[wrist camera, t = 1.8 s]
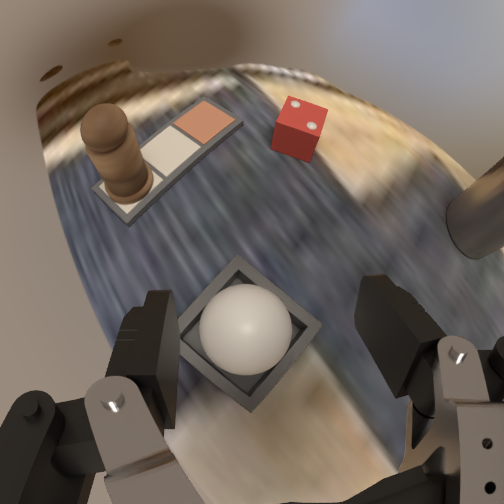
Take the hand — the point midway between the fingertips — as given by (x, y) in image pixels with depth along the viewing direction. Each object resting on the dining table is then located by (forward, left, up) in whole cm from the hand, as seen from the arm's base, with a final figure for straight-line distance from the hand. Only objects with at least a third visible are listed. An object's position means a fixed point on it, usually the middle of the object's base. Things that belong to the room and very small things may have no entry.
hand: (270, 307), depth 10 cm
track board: (-10, -20, -20) cm, 31 cm away
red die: (-22, -10, -20) cm, 32 cm away
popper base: (0, 0, -20) cm, 20 cm away
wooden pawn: (-4, -20, -19) cm, 28 cm away
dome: (0, 0, -18) cm, 18 cm away
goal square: (-16, -20, -20) cm, 33 cm away
